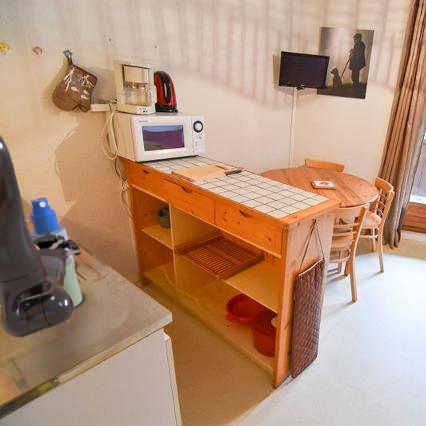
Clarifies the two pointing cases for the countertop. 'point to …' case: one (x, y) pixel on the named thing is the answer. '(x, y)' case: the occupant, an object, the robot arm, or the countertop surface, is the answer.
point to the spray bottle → (45, 221)
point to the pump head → (47, 240)
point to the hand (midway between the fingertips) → (49, 240)
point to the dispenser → (72, 283)
